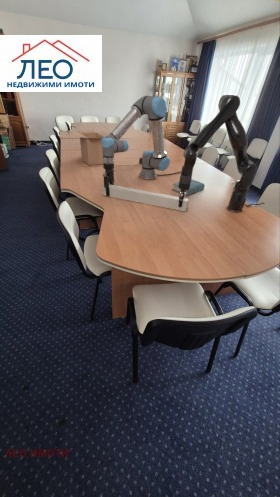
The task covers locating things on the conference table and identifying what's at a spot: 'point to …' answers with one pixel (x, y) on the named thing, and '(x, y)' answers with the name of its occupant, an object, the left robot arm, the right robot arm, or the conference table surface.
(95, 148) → the box
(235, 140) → the right robot arm
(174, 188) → the book
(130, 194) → the bar
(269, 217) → the conference table surface
